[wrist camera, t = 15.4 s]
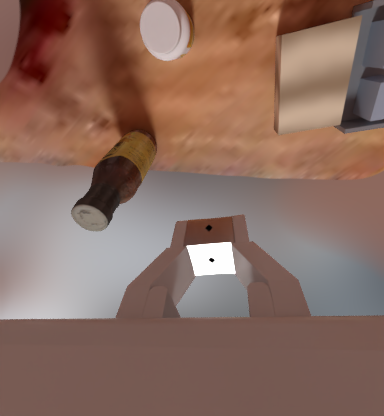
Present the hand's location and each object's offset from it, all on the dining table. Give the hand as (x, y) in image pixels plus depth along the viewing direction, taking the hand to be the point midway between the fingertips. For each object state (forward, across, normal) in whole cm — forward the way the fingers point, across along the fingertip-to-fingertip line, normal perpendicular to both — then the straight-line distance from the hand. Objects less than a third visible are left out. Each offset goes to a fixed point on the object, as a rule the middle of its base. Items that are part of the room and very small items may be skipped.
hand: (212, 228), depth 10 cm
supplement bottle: (+29, +4, -9) cm, 31 cm away
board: (+29, -13, 0) cm, 32 cm away
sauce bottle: (+29, +14, +5) cm, 33 cm away
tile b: (+26, -20, +3) cm, 33 cm away
